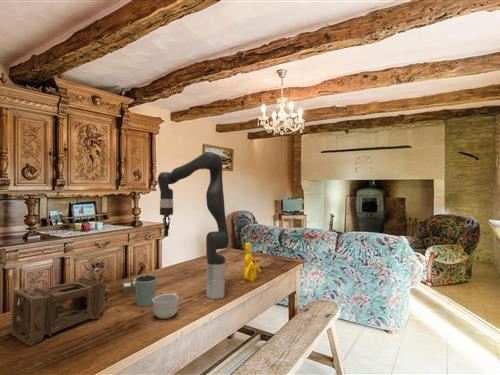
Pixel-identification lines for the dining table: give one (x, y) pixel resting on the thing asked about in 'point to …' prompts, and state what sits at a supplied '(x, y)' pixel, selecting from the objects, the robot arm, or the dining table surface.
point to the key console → (128, 289)
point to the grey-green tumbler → (145, 289)
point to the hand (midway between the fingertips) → (166, 236)
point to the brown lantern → (55, 308)
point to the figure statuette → (250, 264)
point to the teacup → (165, 305)
